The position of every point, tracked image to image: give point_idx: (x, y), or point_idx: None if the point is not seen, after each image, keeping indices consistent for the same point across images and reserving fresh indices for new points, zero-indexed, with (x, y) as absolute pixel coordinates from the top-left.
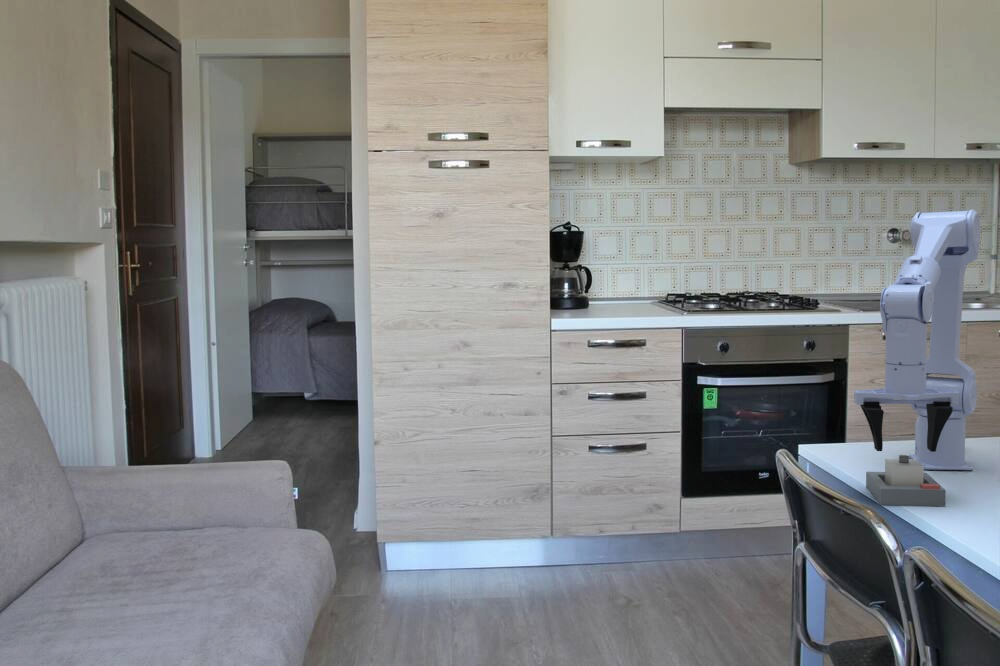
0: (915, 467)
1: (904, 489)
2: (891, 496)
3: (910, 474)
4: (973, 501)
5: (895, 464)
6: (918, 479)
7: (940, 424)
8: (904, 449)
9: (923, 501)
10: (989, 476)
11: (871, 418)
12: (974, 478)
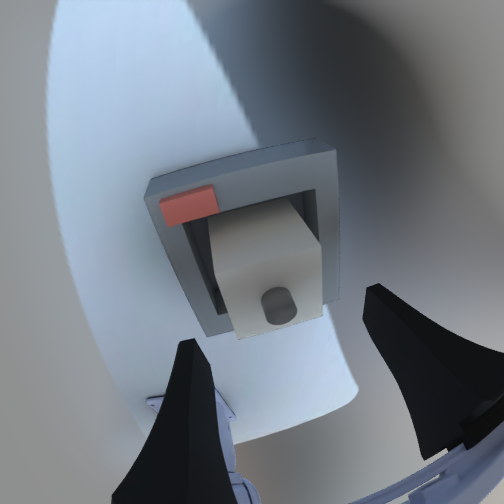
0: (241, 264)
1: (267, 162)
2: (297, 149)
3: (252, 244)
4: (98, 250)
5: (306, 265)
6: (225, 243)
7: (162, 444)
8: (240, 430)
9: (206, 167)
10: (118, 385)
11: (490, 351)
12: (134, 375)
